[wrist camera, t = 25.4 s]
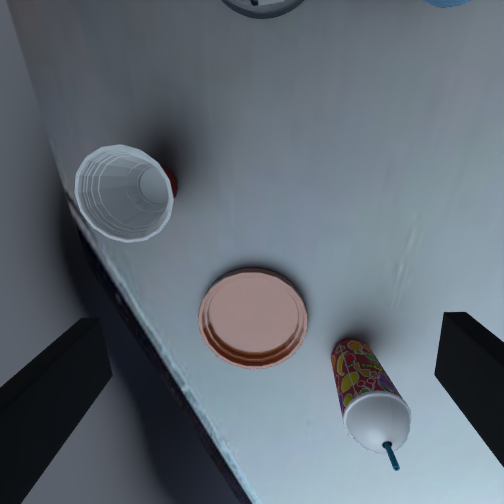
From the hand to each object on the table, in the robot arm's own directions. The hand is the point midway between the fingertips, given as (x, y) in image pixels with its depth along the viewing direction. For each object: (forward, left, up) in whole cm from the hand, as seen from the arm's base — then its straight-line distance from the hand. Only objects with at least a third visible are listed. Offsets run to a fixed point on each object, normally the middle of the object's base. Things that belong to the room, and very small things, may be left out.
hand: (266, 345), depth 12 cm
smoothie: (+4, +28, -35) cm, 45 cm away
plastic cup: (+11, -12, -35) cm, 39 cm away
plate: (+13, +13, -35) cm, 39 cm away
